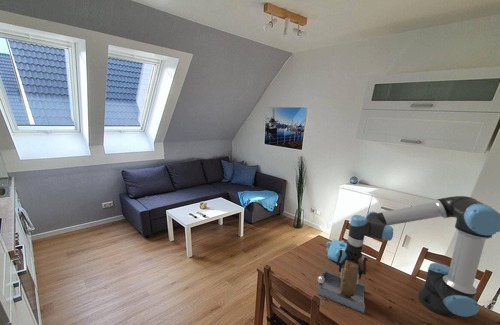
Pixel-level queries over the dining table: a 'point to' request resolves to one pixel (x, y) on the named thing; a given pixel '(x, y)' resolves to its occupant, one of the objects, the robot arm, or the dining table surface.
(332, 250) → the teapot
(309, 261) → the dining table surface
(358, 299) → the dock
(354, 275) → the brown blocky piece
